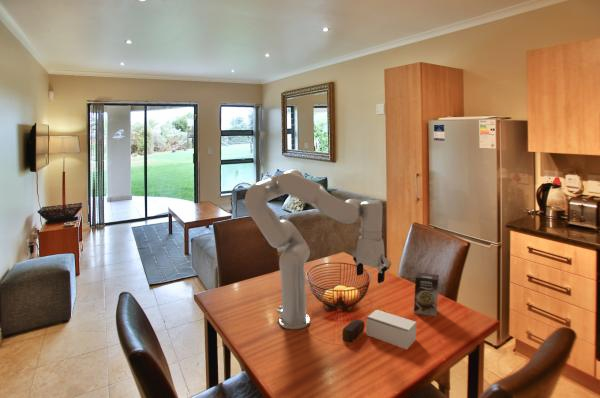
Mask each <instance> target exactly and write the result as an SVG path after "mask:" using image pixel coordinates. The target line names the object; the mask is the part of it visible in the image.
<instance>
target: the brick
mask: <svg viewBox="0 0 600 398" xmlns="http://www.w3.org/2000/svg"><path fill="white" fill-rule="evenodd" d="M365 323H366V322H364V320H362V319H359V318H354V319H353V320H352V321H351V322H349V323H348V324H347V325H346V326H345V327H343V329H342V340H343V341H345V342H348V343H353V342H354V340H356V339H357V338H358V337H360V335H361V334H363V332H364V331H365V328H366V327H365Z"/></svg>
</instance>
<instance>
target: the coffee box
mask: <svg viewBox="0 0 600 398" xmlns="http://www.w3.org/2000/svg"><path fill="white" fill-rule="evenodd" d="M414 285H415V286H414V303H413V304H414V305H413V313H414V314H416V315H417V314H418V315H423V316H430V317H437V312H438V311H437V310H438V296H439V295H438V294H439V274H432V273H424V272H416V274H415V280H414Z"/></svg>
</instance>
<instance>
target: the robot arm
mask: <svg viewBox="0 0 600 398" xmlns="http://www.w3.org/2000/svg"><path fill="white" fill-rule="evenodd" d="M286 194H287V195H288V196H291V197H292V198H295V199H298V200H299V201H301V202H303V203H306V204H308V205H310V206H312V207H313V208H315V209H316V210H317V211H318V212H321V213H322V214H324V215H325V216H327V217H329V218H330V219H334V220H336V221H337V222H340V223H343V224H348V225H349V224H350V225H351V224H353V223H355V222H357V220H358V219H360V228H359V229H358V233H360V235H359V237H358V239H357V240H358V241H357V243H356V250H354V251H352V252H351V255H352V259H353V261H354V263H355V265H356V276H357V277H359V276H362V275H363V274H364V265H366V266H368V267H371V268H376V269H377V271H378V273H377V284H382V283H384V282H385V273H386V272H387V271H388V270H389V269H390V267H391V266H392V262H391V261H390V260H389V259H388V258H387V257H385V245H384V243H385V242H384V238H382V234H383V233H382V232H383V231H382V230H383V203H382V202H381V201H378V200H362V199H361V200H360V199H358V198H349V199H347V200H343V199H340V198H338V197H336V196H334V195H332V194H331V193H329V192H328V191H327V190H326V188H325V187H324V185H322V184H321V183H319V182H316V181H313V180H312V179H309V178H307V177H305V176H304V175H303V173H302V172H301V171H299V170H297V169H290V170H286V171H284V172H282V173H280V174H277V175H275V176H273V177H269V178H266V179H264V180H261V181H257V182H255V183H253V184H252V185H251V186H250V187H249V188H247V191H246V192H245V197H244V207H245V209H246V211H247V213H248V215H249V216H250V218H251V219H252V220H253V221H254V223H255V224H256V226H257V227H258V229H259V230H260V232H261V234H262V235H263V237H264V239H265V240H266V241H267V243H268V244H269V245H270V246H271V247H272V248H275V249H281V248H283V250H282V252H281V254H280V256H279V261H278V265H279V270H280V280H281V301H282V302H281V305H278V306H277V309H276V313H277V314H280V317H279V318H278V324H279V325H280V326H281V327H282V328H284V329H288V330H300V329H304V328H306V327H308V325H310V322H311V319H310V316H309V315H308V314H307V303H306V302H307V301H306V296H307V295H306V290H307V289H306V276H305V264H306V263H307V260H308V259H309V257H310V255H311V254H310V253H311V251H310V247H309V245H308V243H307V242H306V240H305V239H304V237H303V236H302V234H301V232H300V231H299V230H298V228H297V226H295V224H294V223H292V221H290V220H289V219H288V220H287V219H279V217H278V216H277V215H276V213H275V212H274V210H273V209H272V208H271V207H270V206H269V205H268V202H269V201H271V200H273V199H276V198H279V197H282V196H284V195H286ZM384 264H385V265H384Z"/></svg>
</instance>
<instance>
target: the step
mask: <svg viewBox="0 0 600 398" xmlns="http://www.w3.org/2000/svg"><path fill="white" fill-rule="evenodd" d="M365 323H366V327H365V328H366V330H365V331H366V333H365V334H366V336H369V337H371V338H374V339H377V340H379V341H383V342H385V343H388V344H391V345H393V346H395V347H399V348H402V349H404V350H408V349H409V348H410V347H411V346H412V345H413V343H414V342H415V341H417V321H414V320H411V319H408V318H406V317H402V316H399V315H396V314H392V313H388V312H386V311H382V310H379V309H375V310H374V311H372V312H371V313H370V314H369V315H367V316H366V322H365Z"/></svg>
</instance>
